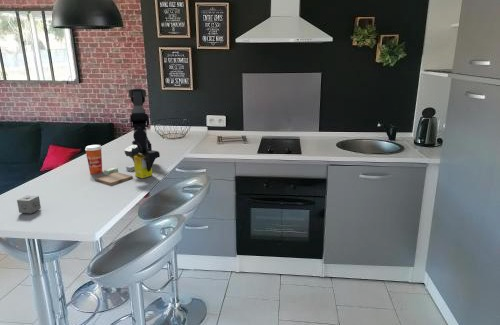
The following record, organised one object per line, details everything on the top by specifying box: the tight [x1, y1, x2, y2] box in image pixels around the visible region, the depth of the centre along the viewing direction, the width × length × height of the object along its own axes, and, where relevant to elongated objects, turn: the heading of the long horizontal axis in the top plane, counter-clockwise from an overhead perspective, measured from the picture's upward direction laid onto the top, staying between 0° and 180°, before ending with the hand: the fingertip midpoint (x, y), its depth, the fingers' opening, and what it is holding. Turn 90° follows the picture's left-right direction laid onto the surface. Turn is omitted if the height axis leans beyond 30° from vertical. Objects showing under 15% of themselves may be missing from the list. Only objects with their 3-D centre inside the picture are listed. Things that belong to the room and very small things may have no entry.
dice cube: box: [16, 194, 42, 214], centre depth 135 cm, size 5×5×5 cm
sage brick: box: [103, 167, 119, 176], centre depth 179 cm, size 6×3×3 cm, turn 151°
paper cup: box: [84, 144, 103, 175], centre depth 180 cm, size 8×8×14 cm
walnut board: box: [94, 171, 134, 186], centre depth 171 cm, size 12×12×2 cm
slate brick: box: [125, 164, 135, 172], centre depth 185 cm, size 6×3×3 cm, turn 151°
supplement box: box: [133, 154, 153, 180], centre depth 174 cm, size 6×6×11 cm
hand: (143, 170), depth 174 cm, fingers closed on supplement box, 7 cm apart
